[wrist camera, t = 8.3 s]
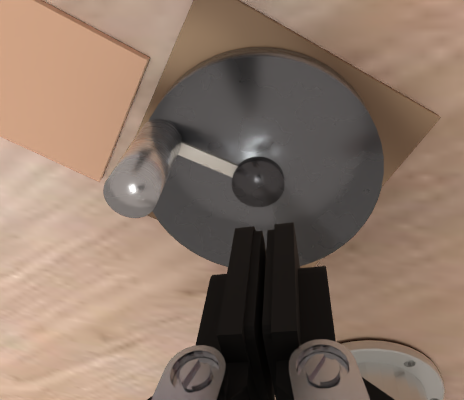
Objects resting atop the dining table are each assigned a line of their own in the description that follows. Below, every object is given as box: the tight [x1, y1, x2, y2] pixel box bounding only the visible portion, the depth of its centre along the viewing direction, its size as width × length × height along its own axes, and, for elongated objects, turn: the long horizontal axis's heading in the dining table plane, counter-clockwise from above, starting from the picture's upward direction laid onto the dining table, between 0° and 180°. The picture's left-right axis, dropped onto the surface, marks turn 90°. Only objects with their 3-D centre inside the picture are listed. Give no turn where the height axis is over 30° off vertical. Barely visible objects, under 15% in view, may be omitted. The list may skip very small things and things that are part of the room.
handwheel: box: [103, 47, 384, 267], centre depth 23 cm, size 14×14×8 cm
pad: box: [0, 0, 150, 182], centre depth 26 cm, size 9×9×1 cm
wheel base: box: [136, 0, 440, 268], centre depth 27 cm, size 15×15×1 cm
